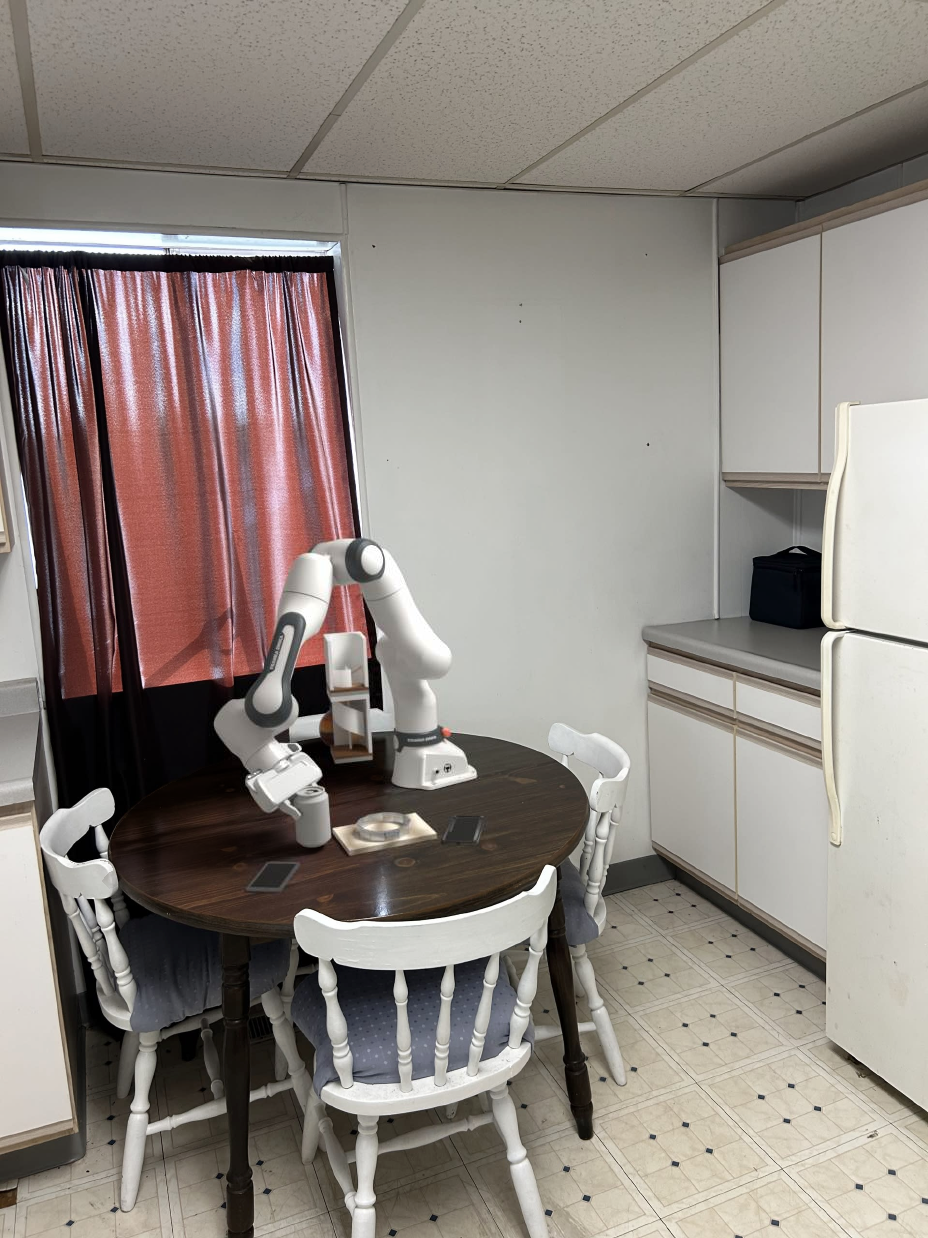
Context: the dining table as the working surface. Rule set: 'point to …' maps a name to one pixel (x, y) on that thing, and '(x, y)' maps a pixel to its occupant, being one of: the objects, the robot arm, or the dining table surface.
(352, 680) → the display case
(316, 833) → the can
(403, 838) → the seat board
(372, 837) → the ring collar
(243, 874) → the dining table surface
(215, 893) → the dining table surface
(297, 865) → the cell phone
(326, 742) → the vase
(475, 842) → the phone
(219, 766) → the dining table surface
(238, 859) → the dining table surface
